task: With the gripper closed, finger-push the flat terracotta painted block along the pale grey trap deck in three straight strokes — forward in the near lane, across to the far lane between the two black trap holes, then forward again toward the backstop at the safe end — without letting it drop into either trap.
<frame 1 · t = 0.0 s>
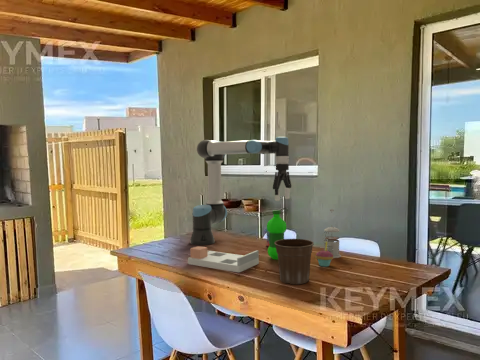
hand: (282, 199, 222), 28 cm above the table, tool pointing down, fingers open, 13 cm apart
plastic bottle: (276, 258, 197), on the table
trap deck: (223, 263, 187), on the table
cupcake: (324, 265, 182), on the table
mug: (274, 246, 225), on the table
plant pot: (294, 280, 159), on the table
french press: (330, 255, 202), on the table
block: (199, 256, 189), point 3 cm above the table, touching trap deck
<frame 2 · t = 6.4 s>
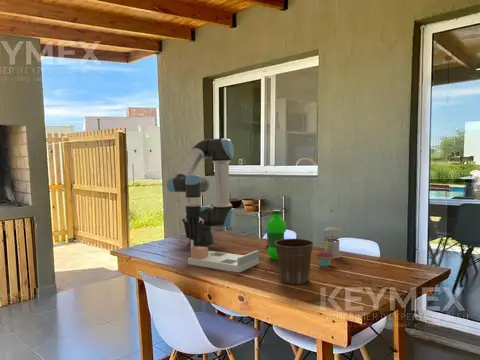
hand: (193, 252, 190), 5 cm above the table, tool pointing down, fingers closed
block: (199, 257, 188), point 3 cm above the table, touching gripper
everything else where it was.
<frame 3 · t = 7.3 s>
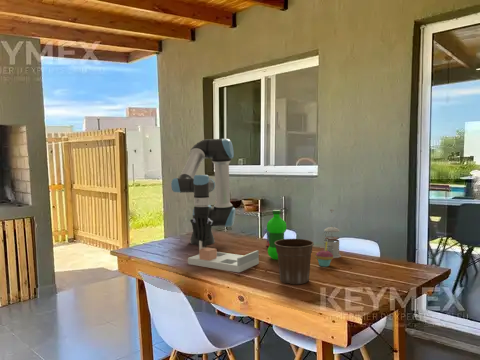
hand: (202, 253, 187), 5 cm above the table, tool pointing down, fingers closed
block: (208, 258, 186), point 3 cm above the table, touching gripper
everything else where it was.
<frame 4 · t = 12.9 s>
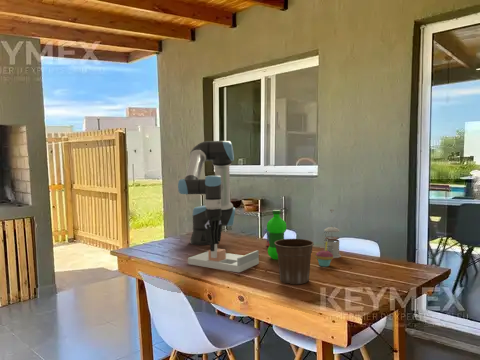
hand: (214, 257, 180), 5 cm above the table, tool pointing down, fingers closed
block: (217, 259, 184), point 3 cm above the table, touching gripper, trap deck
everything else where it was.
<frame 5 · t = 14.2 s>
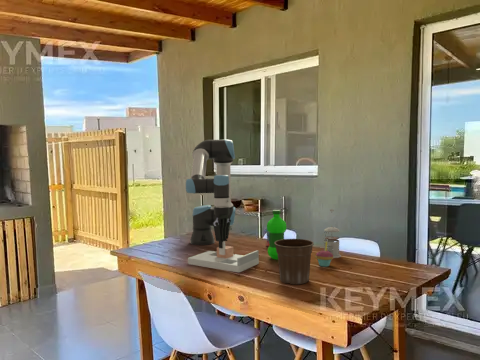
hand: (222, 254, 186), 5 cm above the table, tool pointing down, fingers closed
block: (225, 256, 190), point 3 cm above the table, touching gripper, trap deck
everything else where it was.
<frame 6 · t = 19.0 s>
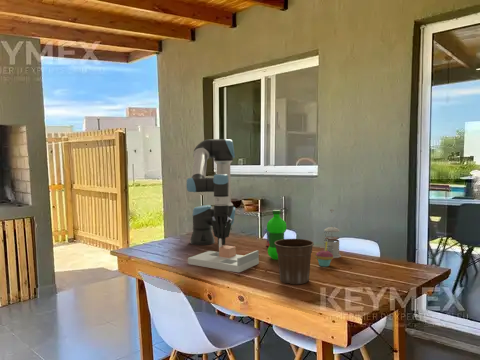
hand: (221, 251, 192), 5 cm above the table, tool pointing down, fingers closed
block: (227, 255, 190), point 3 cm above the table, touching gripper, trap deck
everything else where it was.
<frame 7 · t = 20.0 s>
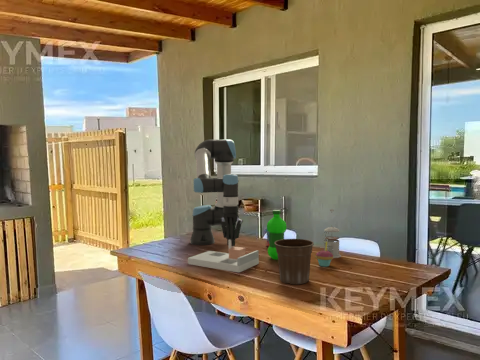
hand: (231, 252, 189), 5 cm above the table, tool pointing down, fingers closed
block: (237, 257, 187), point 3 cm above the table, touching gripper, trap deck
everything else where it was.
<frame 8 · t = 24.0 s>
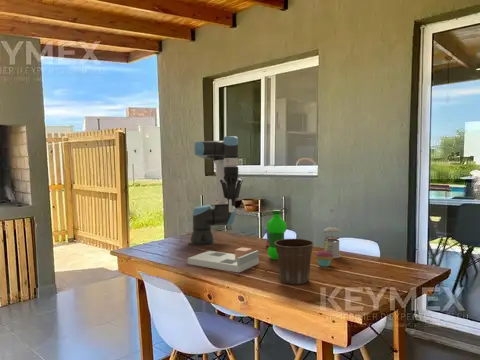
hand: (231, 211, 196), 24 cm above the table, tool pointing down, fingers closed
block: (243, 258, 185), point 3 cm above the table, touching trap deck
everything else where it was.
at the end: block inside the target area on the trap deck (1.4 cm from its centre), point 3.0 cm above the trap deck's base; block tilted 0° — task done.
